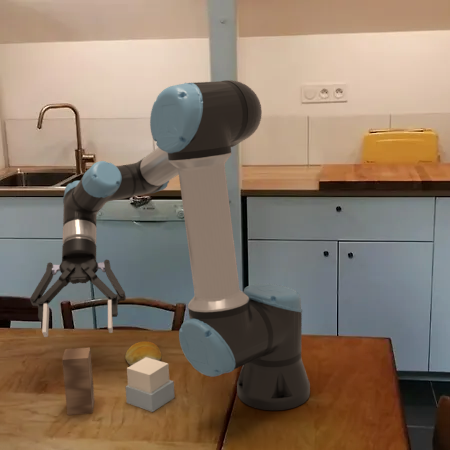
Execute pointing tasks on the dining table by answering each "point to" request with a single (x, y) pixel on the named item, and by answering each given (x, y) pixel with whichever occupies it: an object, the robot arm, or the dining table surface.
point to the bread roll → (142, 352)
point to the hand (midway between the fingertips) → (77, 332)
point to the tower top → (148, 374)
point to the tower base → (150, 396)
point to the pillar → (78, 381)
